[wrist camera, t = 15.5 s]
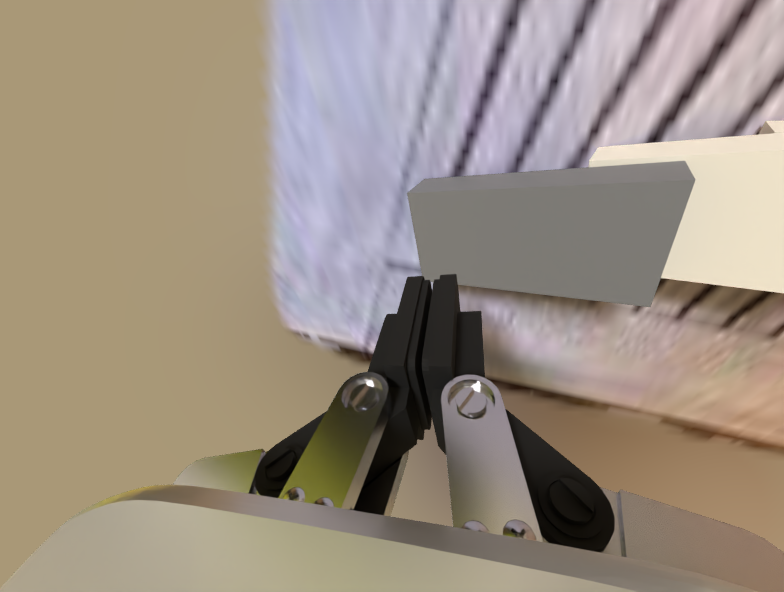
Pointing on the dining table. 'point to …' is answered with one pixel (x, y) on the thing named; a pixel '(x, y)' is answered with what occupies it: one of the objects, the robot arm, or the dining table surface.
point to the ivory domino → (723, 208)
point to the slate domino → (554, 229)
